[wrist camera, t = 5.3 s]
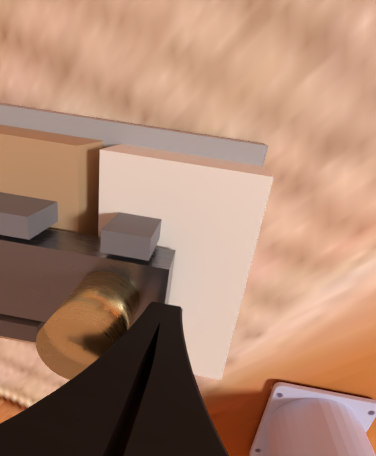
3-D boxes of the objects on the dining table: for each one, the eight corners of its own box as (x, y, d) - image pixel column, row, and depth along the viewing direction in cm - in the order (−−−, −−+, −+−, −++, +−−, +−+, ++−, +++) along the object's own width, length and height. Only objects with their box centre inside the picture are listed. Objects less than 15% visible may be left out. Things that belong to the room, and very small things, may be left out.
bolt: (166, 318, 14) (143, 405, 10) (2, 287, 15) (-91, 359, 10) (175, 250, 13) (153, 319, 8) (-8, 218, 13) (-121, 268, 9)
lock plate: (218, 336, 21) (217, 430, 14) (13, 298, 21) (-72, 372, 15) (263, 143, 15) (293, 160, 9) (-12, 101, 16) (-157, 90, 10)
